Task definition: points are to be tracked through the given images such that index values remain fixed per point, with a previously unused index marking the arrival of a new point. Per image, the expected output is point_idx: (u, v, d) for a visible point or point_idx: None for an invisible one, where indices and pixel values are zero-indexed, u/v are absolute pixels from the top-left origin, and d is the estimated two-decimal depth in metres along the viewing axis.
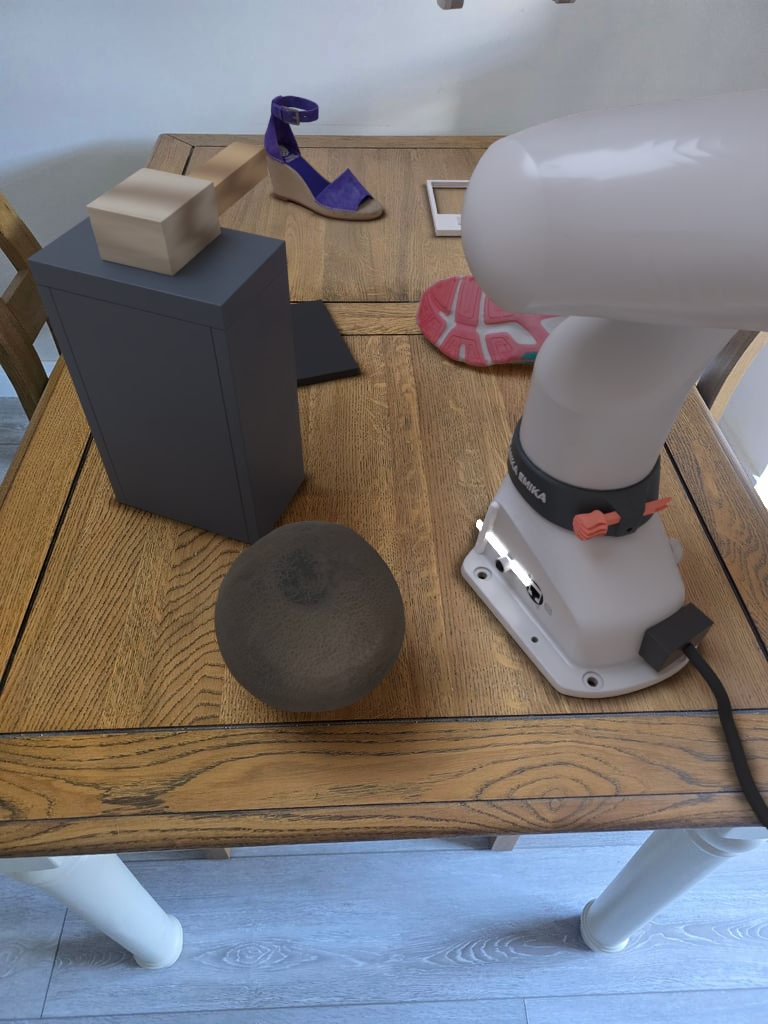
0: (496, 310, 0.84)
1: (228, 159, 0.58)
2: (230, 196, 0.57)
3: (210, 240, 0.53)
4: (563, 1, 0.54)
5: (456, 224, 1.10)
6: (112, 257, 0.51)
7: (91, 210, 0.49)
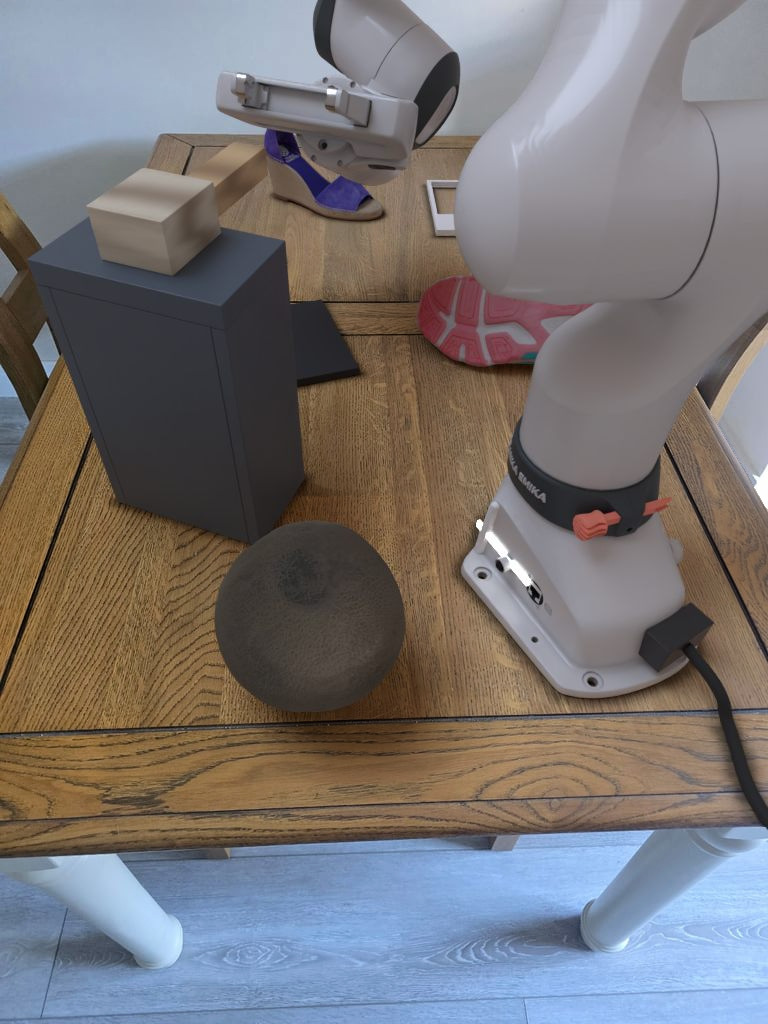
0: (496, 310, 0.84)
1: (228, 159, 0.58)
2: (230, 196, 0.57)
3: (210, 240, 0.53)
4: (332, 88, 0.62)
5: None
6: (112, 257, 0.51)
7: (91, 210, 0.49)
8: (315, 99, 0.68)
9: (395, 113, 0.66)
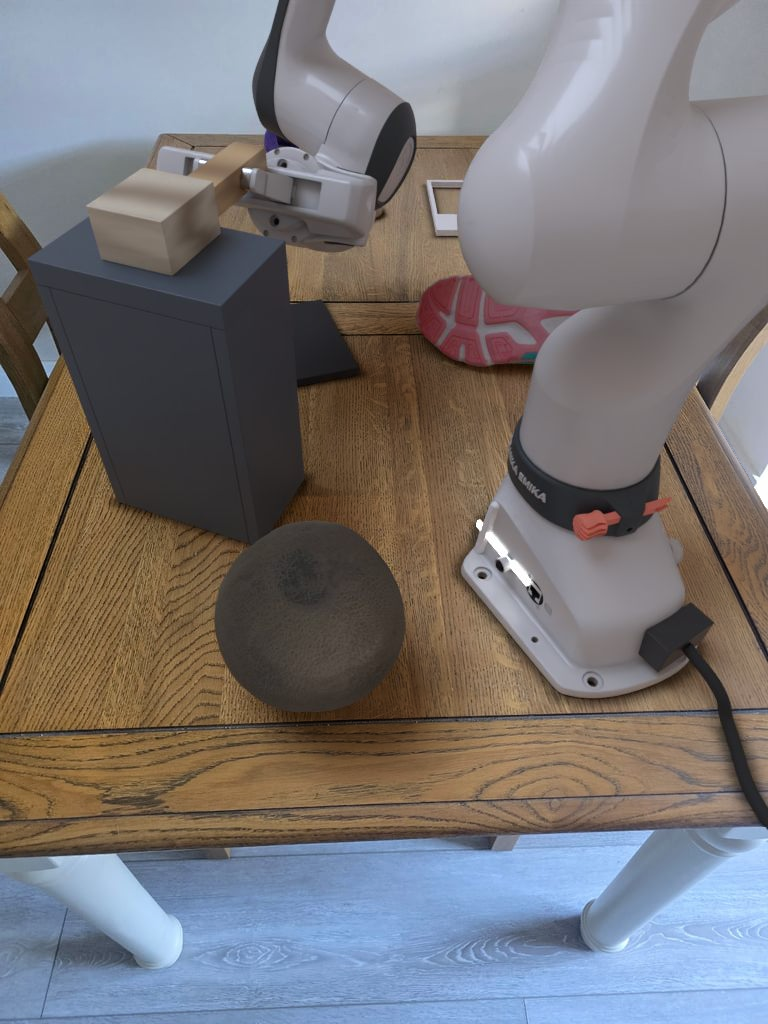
0: (496, 310, 0.84)
1: (228, 159, 0.58)
2: (230, 196, 0.57)
3: (210, 240, 0.53)
4: (246, 167, 0.58)
5: (456, 224, 1.10)
6: (112, 257, 0.51)
7: (91, 210, 0.49)
8: None
9: (347, 197, 0.60)
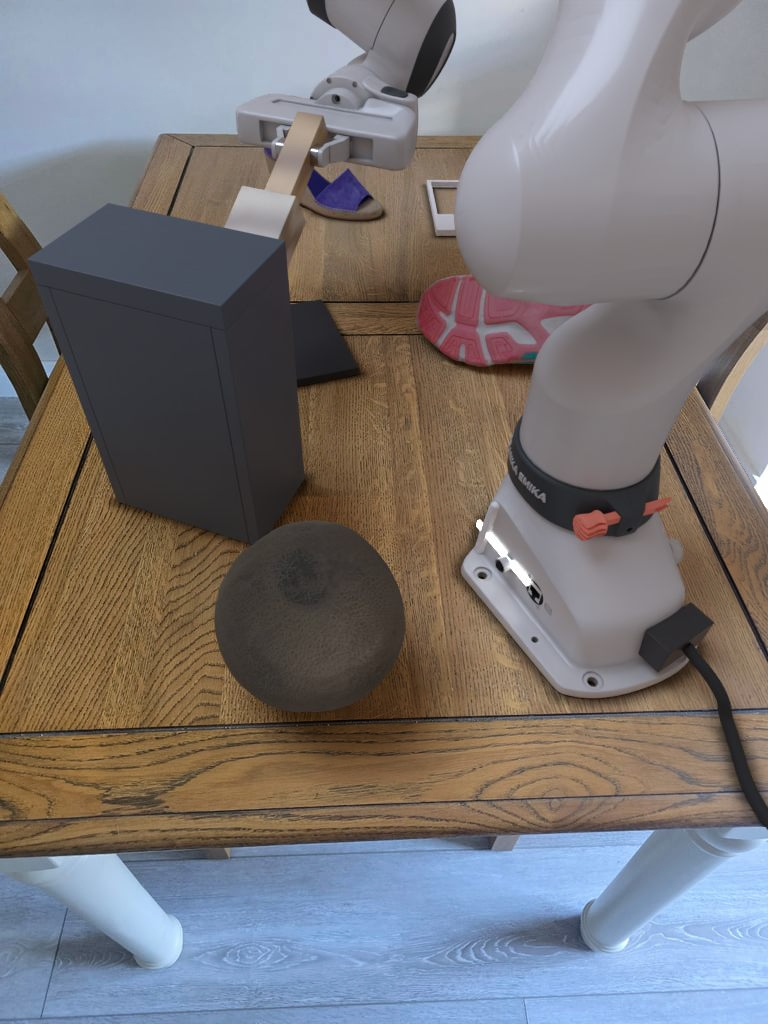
0: (496, 310, 0.84)
1: (297, 142, 0.73)
2: (305, 178, 0.74)
3: (300, 234, 0.73)
4: (313, 149, 0.73)
5: None
6: None
7: None
8: None
9: (394, 151, 0.74)
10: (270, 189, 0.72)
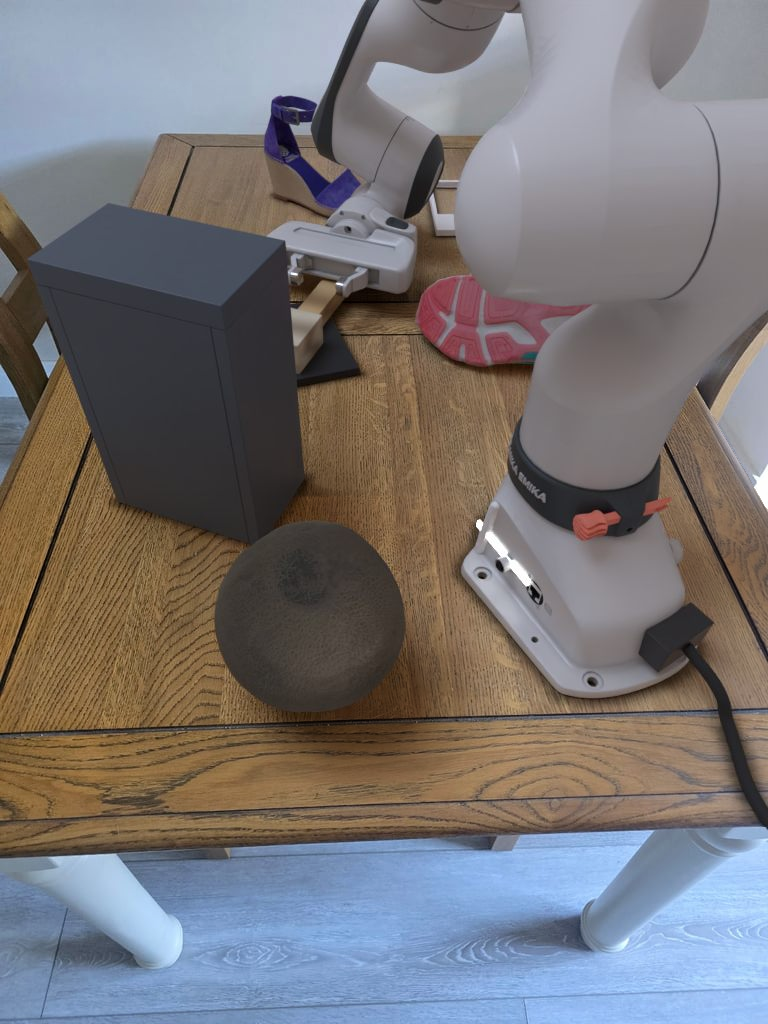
0: (496, 310, 0.84)
1: (323, 291, 0.92)
2: (326, 316, 0.91)
3: (318, 348, 0.87)
4: (339, 284, 0.87)
5: None
6: None
7: None
8: (337, 262, 0.91)
9: (397, 280, 0.89)
10: None
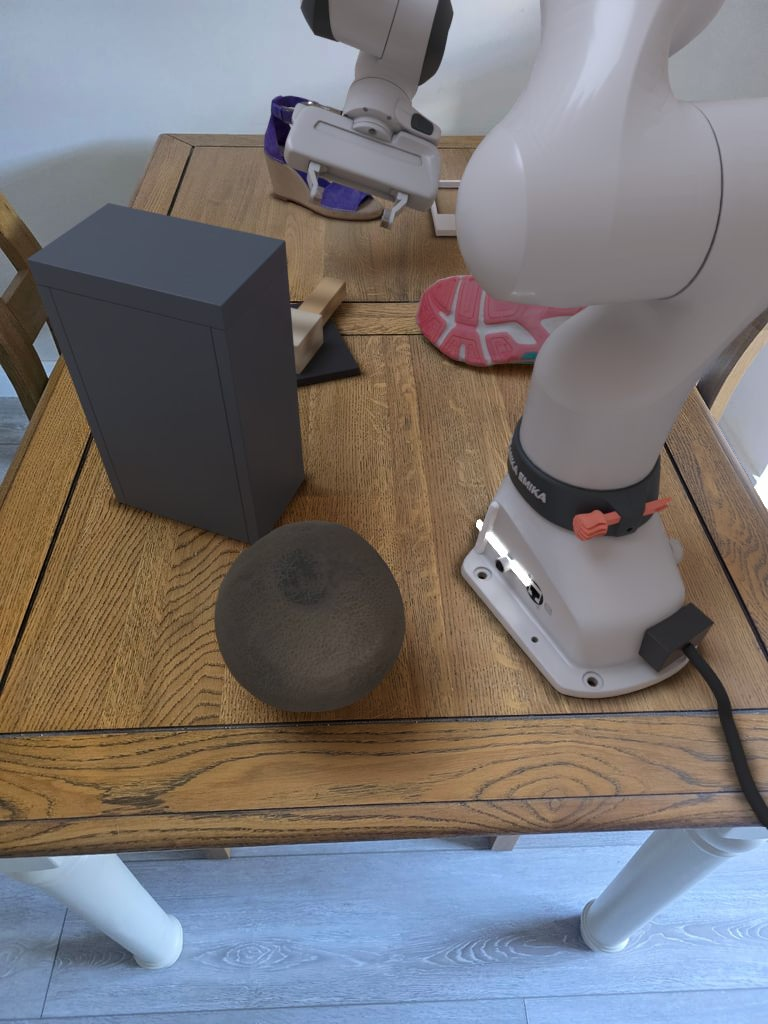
0: (496, 310, 0.84)
1: (323, 291, 0.92)
2: (326, 316, 0.91)
3: (318, 348, 0.87)
4: (385, 220, 0.90)
5: None
6: None
7: None
8: None
9: (426, 204, 0.92)
10: None
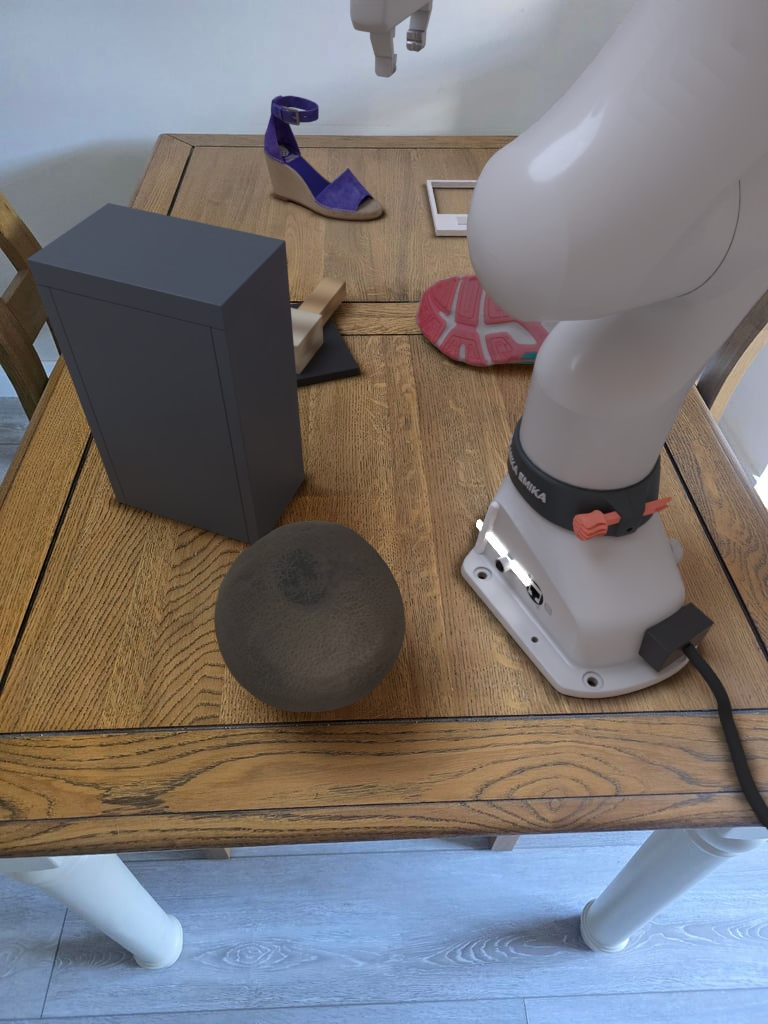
0: (496, 310, 0.84)
1: (323, 291, 0.92)
2: (326, 316, 0.91)
3: (318, 348, 0.87)
4: (421, 48, 0.77)
5: (456, 224, 1.10)
6: None
7: None
8: None
9: None
10: None
